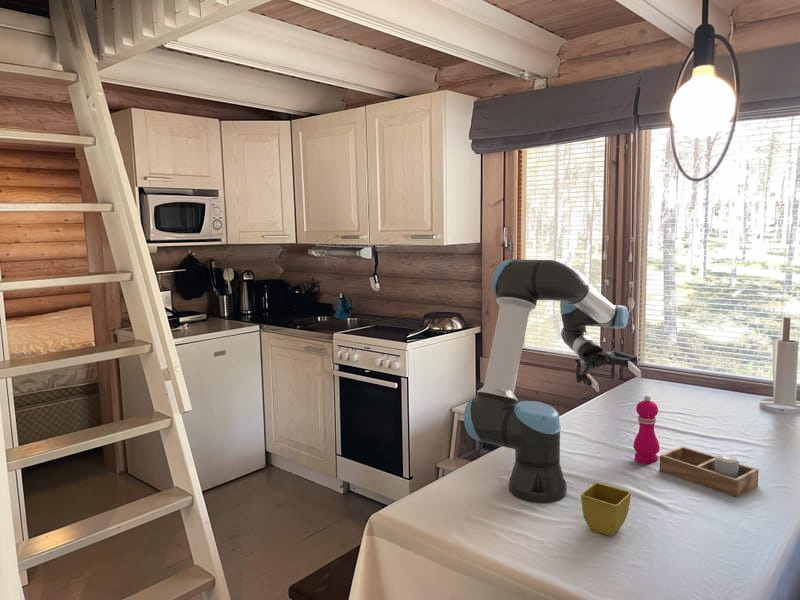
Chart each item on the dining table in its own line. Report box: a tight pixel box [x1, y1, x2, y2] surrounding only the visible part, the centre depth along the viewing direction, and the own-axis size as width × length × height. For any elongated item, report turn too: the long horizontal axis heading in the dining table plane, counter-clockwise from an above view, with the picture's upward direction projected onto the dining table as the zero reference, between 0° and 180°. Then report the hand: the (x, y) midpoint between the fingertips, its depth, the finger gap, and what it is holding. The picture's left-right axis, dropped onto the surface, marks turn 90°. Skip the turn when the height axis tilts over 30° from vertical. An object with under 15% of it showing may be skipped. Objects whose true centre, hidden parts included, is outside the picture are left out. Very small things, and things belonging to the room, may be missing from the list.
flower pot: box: [580, 482, 632, 537], centre depth 139 cm, size 9×9×9 cm
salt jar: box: [714, 454, 740, 479], centre depth 158 cm, size 6×6×7 cm
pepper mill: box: [632, 395, 661, 466], centre depth 177 cm, size 7×7×20 cm
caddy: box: [658, 446, 759, 498], centre depth 162 cm, size 11×21×6 cm, turn 34°
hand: (619, 381), depth 180 cm, fingers open, 13 cm apart
